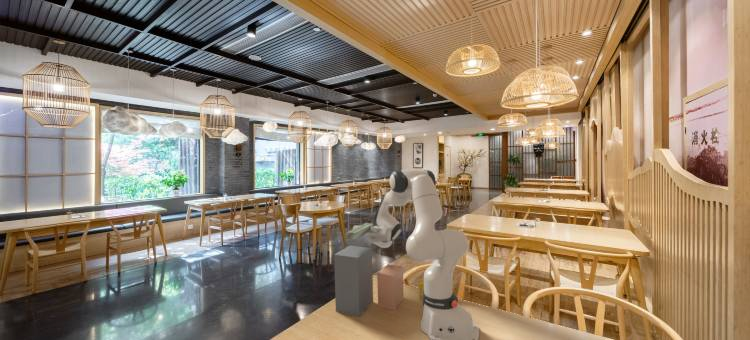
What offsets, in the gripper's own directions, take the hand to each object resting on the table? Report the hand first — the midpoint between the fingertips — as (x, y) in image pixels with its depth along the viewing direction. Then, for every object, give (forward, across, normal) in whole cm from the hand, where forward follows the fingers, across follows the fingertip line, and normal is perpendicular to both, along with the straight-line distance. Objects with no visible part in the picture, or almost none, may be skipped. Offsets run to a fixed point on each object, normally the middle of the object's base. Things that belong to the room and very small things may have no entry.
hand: (365, 227), depth 141 cm
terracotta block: (-15, +14, +31) cm, 37 cm away
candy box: (-24, +33, +26) cm, 48 cm away
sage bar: (+4, 0, +4) cm, 6 cm away
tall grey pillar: (-6, 0, +36) cm, 36 cm away
